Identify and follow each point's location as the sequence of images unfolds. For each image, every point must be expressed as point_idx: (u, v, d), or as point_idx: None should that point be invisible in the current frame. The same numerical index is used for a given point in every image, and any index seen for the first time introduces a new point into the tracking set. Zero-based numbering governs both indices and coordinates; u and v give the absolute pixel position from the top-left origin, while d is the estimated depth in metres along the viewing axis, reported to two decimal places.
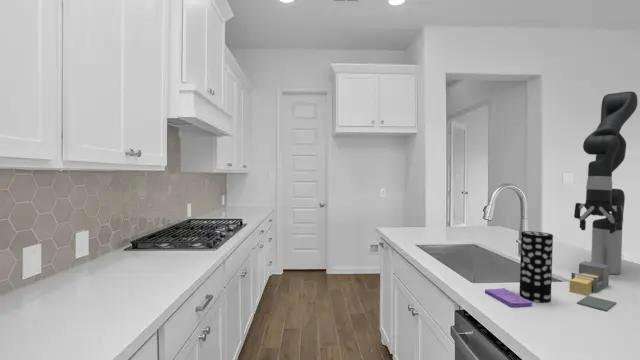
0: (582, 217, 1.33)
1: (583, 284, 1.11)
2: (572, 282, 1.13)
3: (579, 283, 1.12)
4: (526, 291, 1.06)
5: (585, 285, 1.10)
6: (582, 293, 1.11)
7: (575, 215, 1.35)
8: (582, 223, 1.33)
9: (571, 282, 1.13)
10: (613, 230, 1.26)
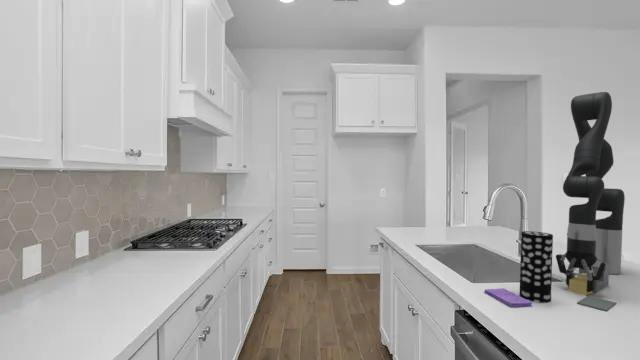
0: (568, 272, 1.15)
1: (582, 283, 1.11)
2: (572, 281, 1.13)
3: (578, 282, 1.12)
4: (526, 291, 1.06)
5: (584, 284, 1.10)
6: (581, 292, 1.11)
7: (561, 269, 1.16)
8: None
9: (571, 281, 1.13)
10: (591, 288, 1.10)
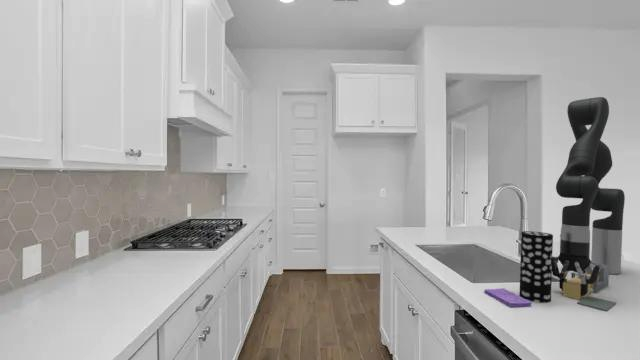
0: (561, 275, 1.11)
1: (576, 287, 1.07)
2: (565, 285, 1.09)
3: (572, 286, 1.08)
4: (526, 291, 1.06)
5: (579, 288, 1.07)
6: (575, 296, 1.07)
7: (554, 272, 1.12)
8: (562, 283, 1.11)
9: (564, 285, 1.10)
10: (584, 292, 1.06)
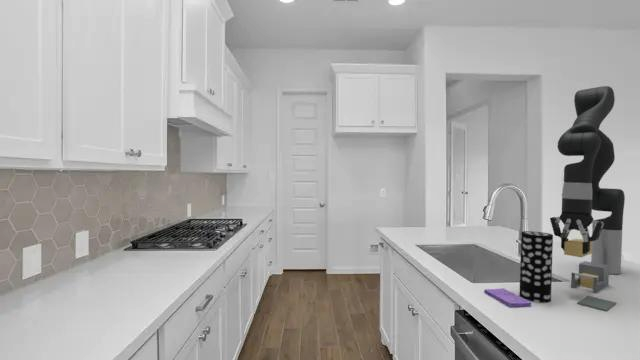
0: (563, 235, 1.09)
1: (578, 245, 1.06)
2: (567, 243, 1.08)
3: (574, 244, 1.06)
4: (526, 291, 1.06)
5: (580, 246, 1.05)
6: (577, 254, 1.06)
7: (555, 232, 1.11)
8: (564, 242, 1.09)
9: (566, 244, 1.08)
10: (586, 250, 1.05)
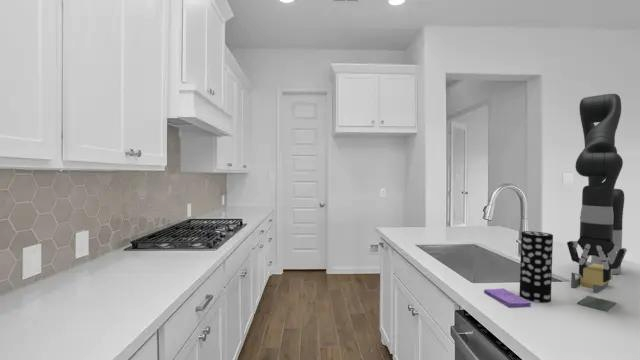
0: (581, 261, 1.03)
1: (599, 272, 0.99)
2: (586, 270, 1.01)
3: (594, 271, 1.00)
4: (526, 291, 1.06)
5: (601, 273, 0.98)
6: (597, 282, 0.99)
7: (573, 258, 1.04)
8: (582, 269, 1.03)
9: (585, 270, 1.01)
10: (607, 278, 0.98)
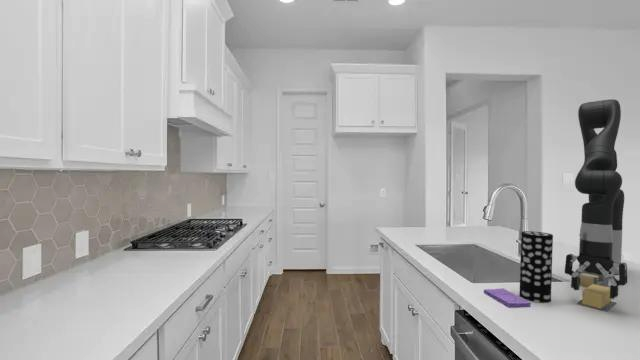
0: (575, 274, 1.04)
1: (598, 295, 0.99)
2: (585, 292, 1.01)
3: (593, 294, 1.00)
4: (526, 291, 1.06)
5: (600, 296, 0.99)
6: (597, 305, 0.99)
7: (566, 270, 1.06)
8: (575, 281, 1.04)
9: (584, 292, 1.01)
10: (615, 295, 0.97)
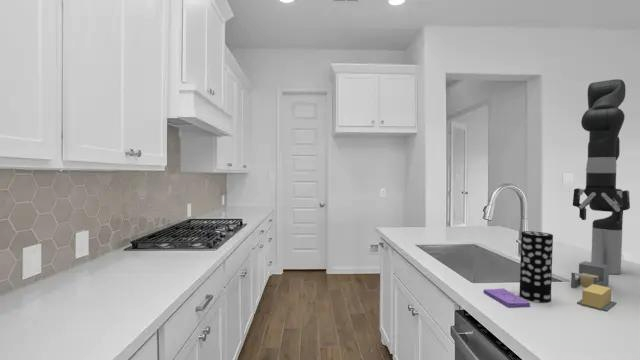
0: (582, 205, 1.15)
1: (598, 295, 0.99)
2: (585, 292, 1.01)
3: (593, 294, 1.00)
4: (526, 291, 1.06)
5: (600, 296, 0.99)
6: (597, 305, 0.99)
7: (574, 203, 1.17)
8: (582, 212, 1.15)
9: (584, 292, 1.01)
10: (618, 219, 1.08)
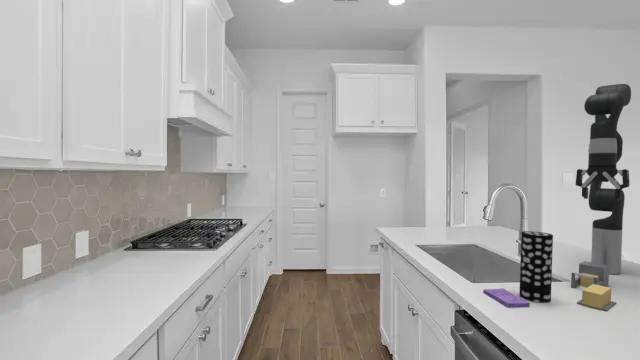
0: (584, 184, 1.22)
1: (598, 295, 0.99)
2: (585, 292, 1.01)
3: (593, 294, 1.00)
4: (526, 291, 1.06)
5: (600, 296, 0.99)
6: (597, 305, 0.99)
7: (577, 183, 1.24)
8: (584, 191, 1.22)
9: (584, 292, 1.01)
10: (618, 196, 1.15)
